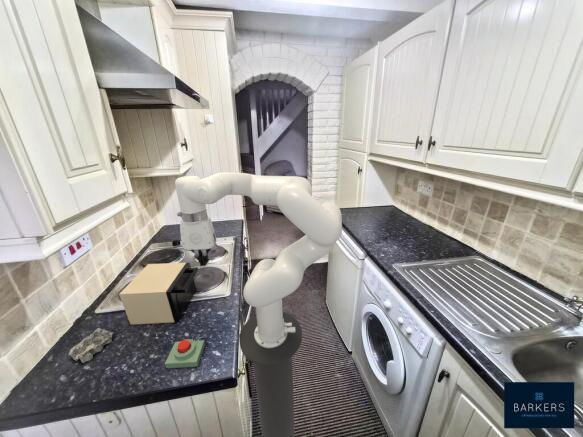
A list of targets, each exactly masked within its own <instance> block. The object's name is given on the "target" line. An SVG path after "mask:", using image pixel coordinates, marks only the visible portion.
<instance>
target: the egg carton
mask: <svg viewBox="0 0 583 437" xmlns="http://www.w3.org/2000/svg"><path fill="white" fill-rule="evenodd" d="M113 334H114V332H112V331H109V330H107V329H104V328H100V327H97V328H96V329H95V330H94V331H93V333H91V334H89V335H88V336H86V337H85V338H84V339H82V340H81V341H80V342H79V343H77V344H76V345H74V346H73V347H72V348H71V349H70V350H69V353H68V355H69V356H71V357H72V359H73V360H74V361H75V362H77V361H78V360H79V361H81V363H83V364H84V363H86V362H89V361H91V360H92V359H94V355H95V354H97V353H100V352H102V350H103V349H104V346H105V345H107V344H111V343H112V342H113V340H112V339H113Z"/></svg>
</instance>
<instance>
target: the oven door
mask: <svg viewBox="0 0 583 437" xmlns="http://www.w3.org/2000/svg"><path fill="white" fill-rule="evenodd" d="M185 263H186V264H185V265H184V267H183V268H182V270H181V271H180V273H179V274H178V276H177V277H176V278H175V280H174V281H173V283H172V284H171V286H170V287H169V289H168V290H167V291H166V294H167V298H168V301H169V304H170V307H171V311H172V314H173V317H174V321H175V322H174V323H179V322H180V320H181V319H182V316H183V314H184V313H185V311H186V309H187V307H188V305H189V303H190V302H191V299H192V298H193V296H194V294H195V292H196V290H197V288H196V282H195V277H196V275H197V273H198V272H199V267H191V266H192V265H191V262H185ZM194 289H195V290H194ZM193 291H194V292H193Z"/></svg>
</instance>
